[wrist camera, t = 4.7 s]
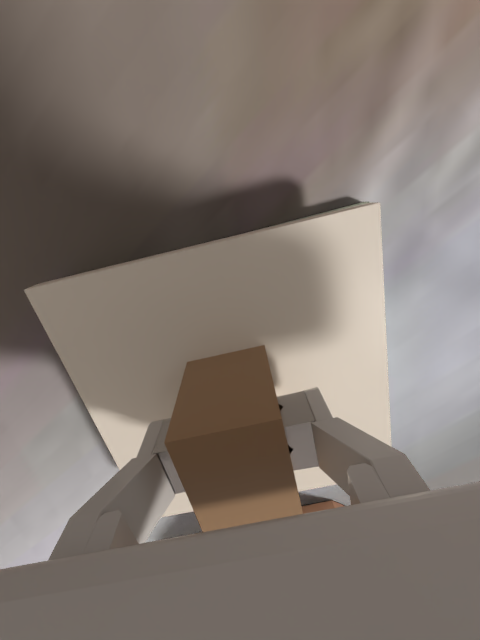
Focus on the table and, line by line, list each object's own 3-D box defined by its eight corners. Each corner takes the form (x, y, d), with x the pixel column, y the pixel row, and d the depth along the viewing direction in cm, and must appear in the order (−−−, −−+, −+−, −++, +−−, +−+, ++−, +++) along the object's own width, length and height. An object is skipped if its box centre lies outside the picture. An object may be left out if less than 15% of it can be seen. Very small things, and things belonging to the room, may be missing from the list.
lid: (37, 283, 10) (-105, 342, 6) (368, 202, 10) (484, 200, 5) (150, 504, 15) (116, 632, 10) (384, 459, 14) (454, 576, 10)
